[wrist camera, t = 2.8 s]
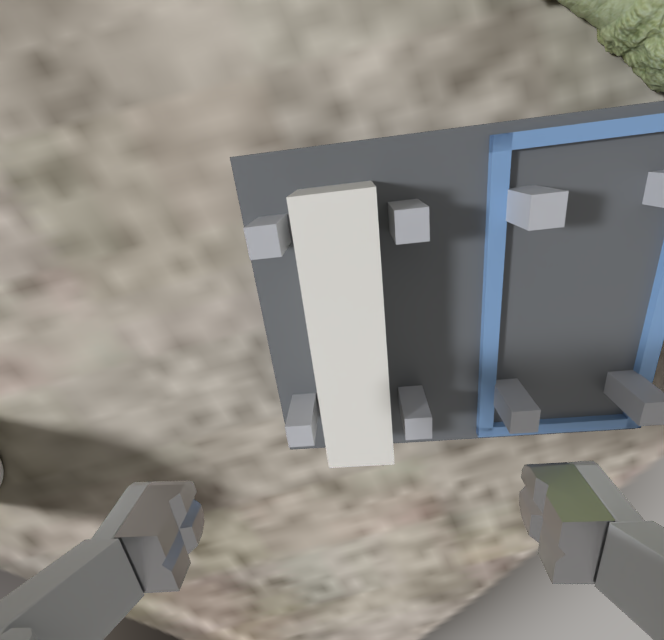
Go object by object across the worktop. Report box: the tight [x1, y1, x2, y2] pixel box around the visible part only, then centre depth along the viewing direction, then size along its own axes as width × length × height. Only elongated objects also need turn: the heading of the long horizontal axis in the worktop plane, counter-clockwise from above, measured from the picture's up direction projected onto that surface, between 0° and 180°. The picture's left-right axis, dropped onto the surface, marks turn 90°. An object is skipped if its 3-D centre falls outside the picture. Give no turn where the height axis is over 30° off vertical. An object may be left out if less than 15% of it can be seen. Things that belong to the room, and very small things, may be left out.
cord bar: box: [286, 181, 394, 468], centre depth 16 cm, size 12×3×3 cm, turn 7°
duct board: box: [230, 101, 664, 450], centre depth 17 cm, size 15×18×4 cm
